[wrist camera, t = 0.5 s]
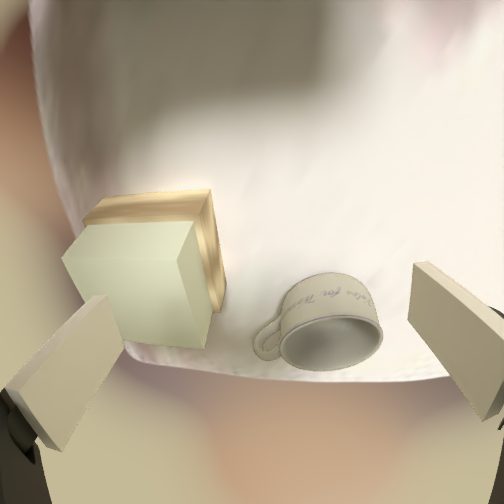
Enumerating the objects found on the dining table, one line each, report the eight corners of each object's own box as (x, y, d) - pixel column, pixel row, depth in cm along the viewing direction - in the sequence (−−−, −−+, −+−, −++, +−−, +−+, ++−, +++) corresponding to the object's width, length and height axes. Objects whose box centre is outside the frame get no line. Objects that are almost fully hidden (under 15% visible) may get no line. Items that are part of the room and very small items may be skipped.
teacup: (372, 253, 30) (390, 309, 24) (367, 317, 36) (377, 369, 30) (245, 267, 33) (235, 325, 27) (263, 327, 39) (258, 379, 33)
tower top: (87, 225, 25) (61, 258, 21) (193, 221, 24) (176, 260, 20) (122, 304, 32) (107, 338, 28) (213, 310, 31) (204, 349, 27)
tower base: (105, 195, 29) (82, 220, 25) (211, 186, 28) (198, 213, 24) (136, 277, 36) (122, 306, 32) (227, 280, 35) (220, 312, 31)
